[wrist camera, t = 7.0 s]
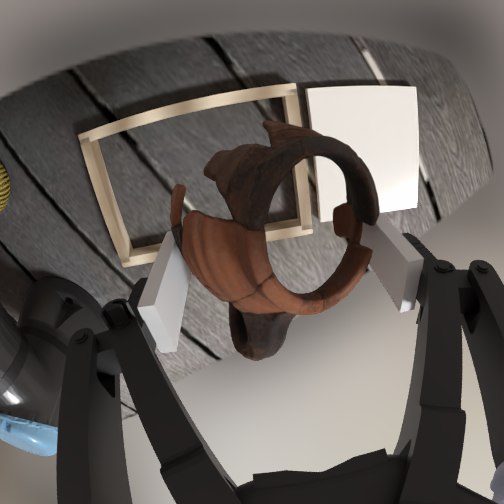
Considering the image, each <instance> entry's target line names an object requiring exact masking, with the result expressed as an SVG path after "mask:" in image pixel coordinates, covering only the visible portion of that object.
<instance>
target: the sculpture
mask: <svg viewBox="0 0 504 504" xmlns="http://www.w3.org/2000/svg"><path fill="white" fill-rule="evenodd" d="M5 172H6V170H5V169H4V166H3V165H2V164H1V163H0V212H1V211H2V210H3V209H4V207H5V206H6V204H7V202H8V198H9V194H10V185H9V184H10V182H9V177H5V176H7V175H8V174H7V173H5ZM4 173H5V174H4ZM4 177H5V178H4ZM2 178H3V179H2Z"/></svg>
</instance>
